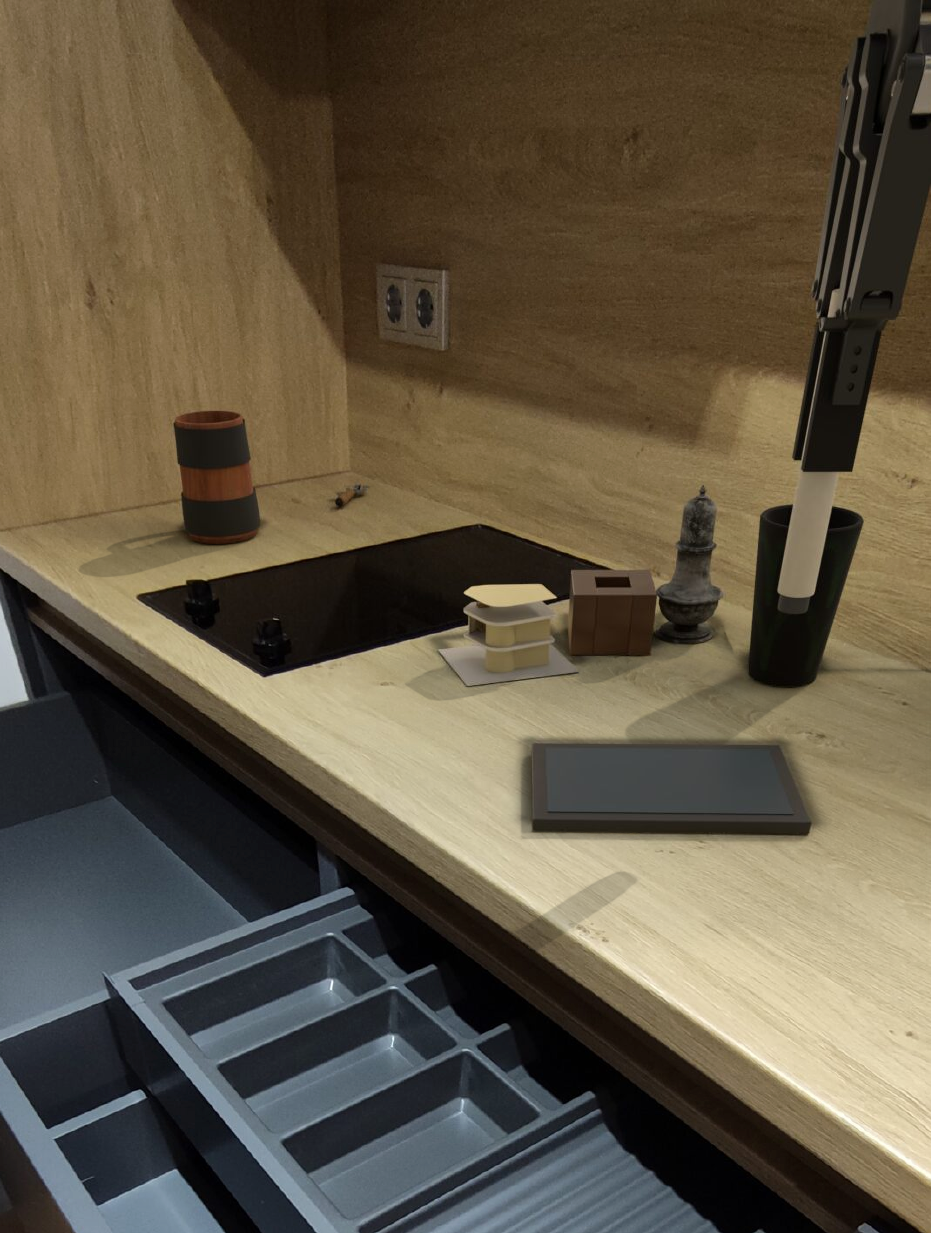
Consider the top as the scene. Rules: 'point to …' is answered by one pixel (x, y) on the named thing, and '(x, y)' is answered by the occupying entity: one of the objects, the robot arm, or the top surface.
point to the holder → (611, 612)
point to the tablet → (665, 789)
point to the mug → (216, 477)
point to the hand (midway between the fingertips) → (821, 463)
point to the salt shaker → (691, 577)
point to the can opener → (349, 494)
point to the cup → (798, 641)
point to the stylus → (807, 528)
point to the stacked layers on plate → (507, 636)
